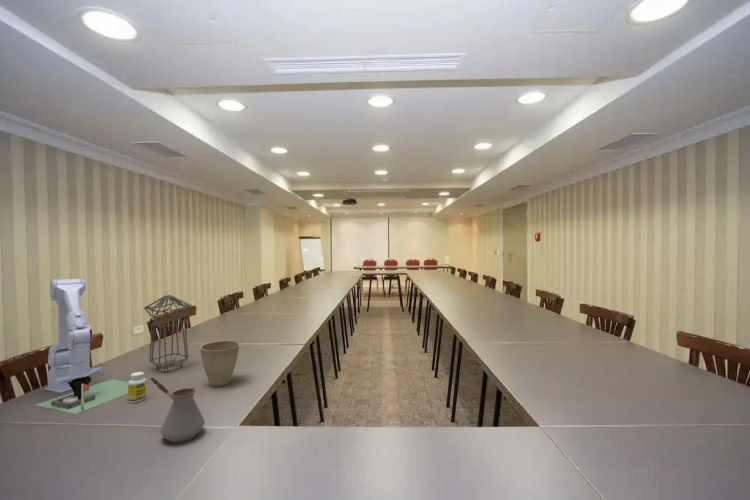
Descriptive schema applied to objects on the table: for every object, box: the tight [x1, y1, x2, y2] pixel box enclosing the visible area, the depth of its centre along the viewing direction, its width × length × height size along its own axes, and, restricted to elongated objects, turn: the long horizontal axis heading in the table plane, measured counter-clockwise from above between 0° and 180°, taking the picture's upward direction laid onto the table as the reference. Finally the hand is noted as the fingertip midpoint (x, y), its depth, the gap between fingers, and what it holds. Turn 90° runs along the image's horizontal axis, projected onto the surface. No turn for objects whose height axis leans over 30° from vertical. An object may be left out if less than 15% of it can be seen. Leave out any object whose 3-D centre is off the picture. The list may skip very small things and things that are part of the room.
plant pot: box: [200, 340, 240, 387], centre depth 143 cm, size 15×15×16 cm
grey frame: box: [51, 384, 95, 412], centre depth 123 cm, size 18×8×9 cm, turn 72°
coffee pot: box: [147, 377, 205, 443], centre depth 105 cm, size 21×12×15 cm, turn 65°
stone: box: [63, 396, 78, 403], centre depth 123 cm, size 4×4×2 cm
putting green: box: [35, 379, 148, 415], centre depth 131 cm, size 21×26×1 cm
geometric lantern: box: [143, 294, 193, 373], centre depth 161 cm, size 16×16×35 cm
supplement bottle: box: [127, 371, 147, 404], centre depth 127 cm, size 5×5×10 cm
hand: (79, 398), depth 126 cm, fingers closed
